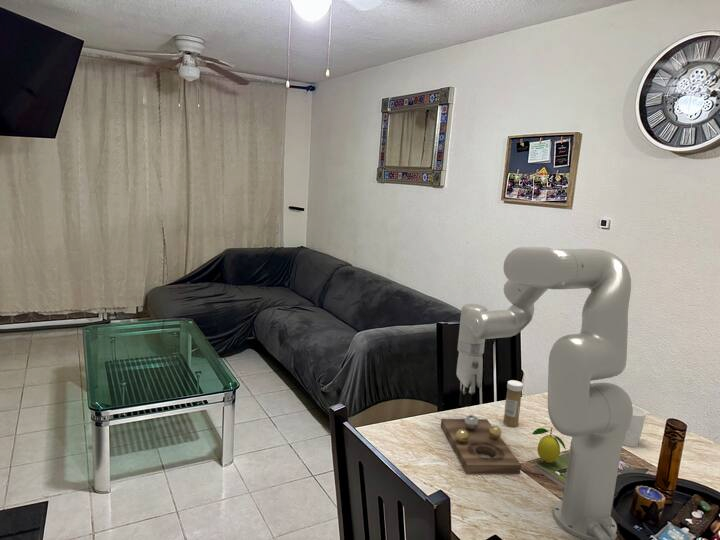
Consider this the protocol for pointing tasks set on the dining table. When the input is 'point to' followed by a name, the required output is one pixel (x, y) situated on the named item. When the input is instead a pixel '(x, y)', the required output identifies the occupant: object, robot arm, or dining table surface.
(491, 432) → the brass ball
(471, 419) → the steel ball
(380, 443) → the dining table surface
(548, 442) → the lemon
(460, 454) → the plate
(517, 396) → the sprinkles bottle
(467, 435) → the brass ball
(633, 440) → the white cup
